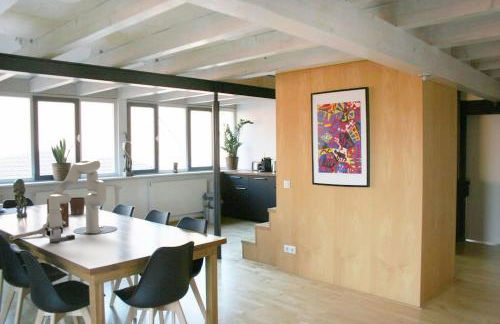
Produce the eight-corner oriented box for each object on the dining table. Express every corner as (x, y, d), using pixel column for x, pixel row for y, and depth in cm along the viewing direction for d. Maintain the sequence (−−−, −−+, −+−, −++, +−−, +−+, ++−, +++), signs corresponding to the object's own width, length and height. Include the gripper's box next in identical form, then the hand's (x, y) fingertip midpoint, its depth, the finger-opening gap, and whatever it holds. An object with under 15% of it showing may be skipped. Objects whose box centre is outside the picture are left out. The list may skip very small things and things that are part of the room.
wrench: (10, 243, 313) (52, 233, 331) (10, 244, 311) (53, 234, 330) (8, 233, 312) (51, 223, 330) (8, 233, 310) (51, 224, 329)
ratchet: (70, 237, 320) (70, 228, 320) (76, 238, 317) (76, 229, 316) (47, 242, 305) (47, 232, 305) (53, 243, 301) (53, 233, 301)
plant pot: (83, 212, 437) (82, 196, 436) (88, 214, 424) (88, 198, 424) (66, 213, 426) (66, 197, 426) (71, 215, 414) (71, 199, 413)
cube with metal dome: (56, 236, 310) (56, 226, 310) (61, 237, 307) (61, 227, 306) (48, 238, 305) (48, 228, 305) (53, 239, 302) (53, 229, 301)
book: (67, 225, 367) (67, 197, 366) (69, 226, 363) (69, 197, 362) (47, 227, 357) (47, 198, 355) (49, 228, 352) (48, 199, 351)
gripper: (62, 209, 314) (62, 232, 315) (40, 212, 300) (40, 236, 301) (68, 210, 310) (68, 233, 311) (46, 213, 296) (46, 237, 297)
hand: (54, 234), depth 306 cm, fingers open, 9 cm apart
